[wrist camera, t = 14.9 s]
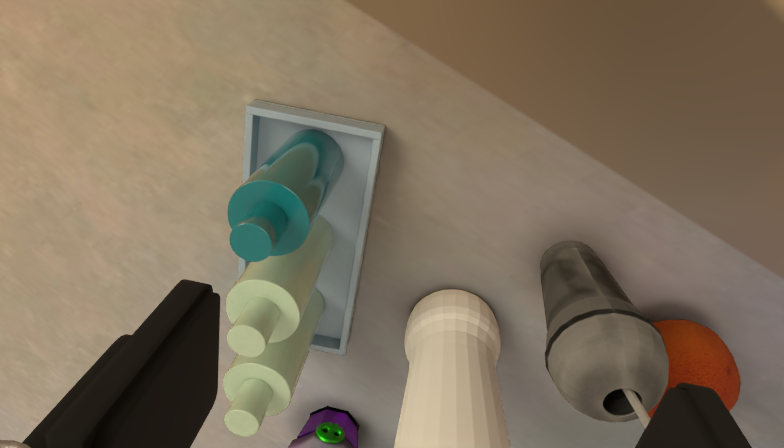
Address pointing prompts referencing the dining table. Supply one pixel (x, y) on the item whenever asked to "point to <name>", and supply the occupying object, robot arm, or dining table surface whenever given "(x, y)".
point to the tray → (341, 210)
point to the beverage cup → (599, 339)
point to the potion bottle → (328, 430)
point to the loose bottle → (284, 196)
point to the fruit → (699, 360)
